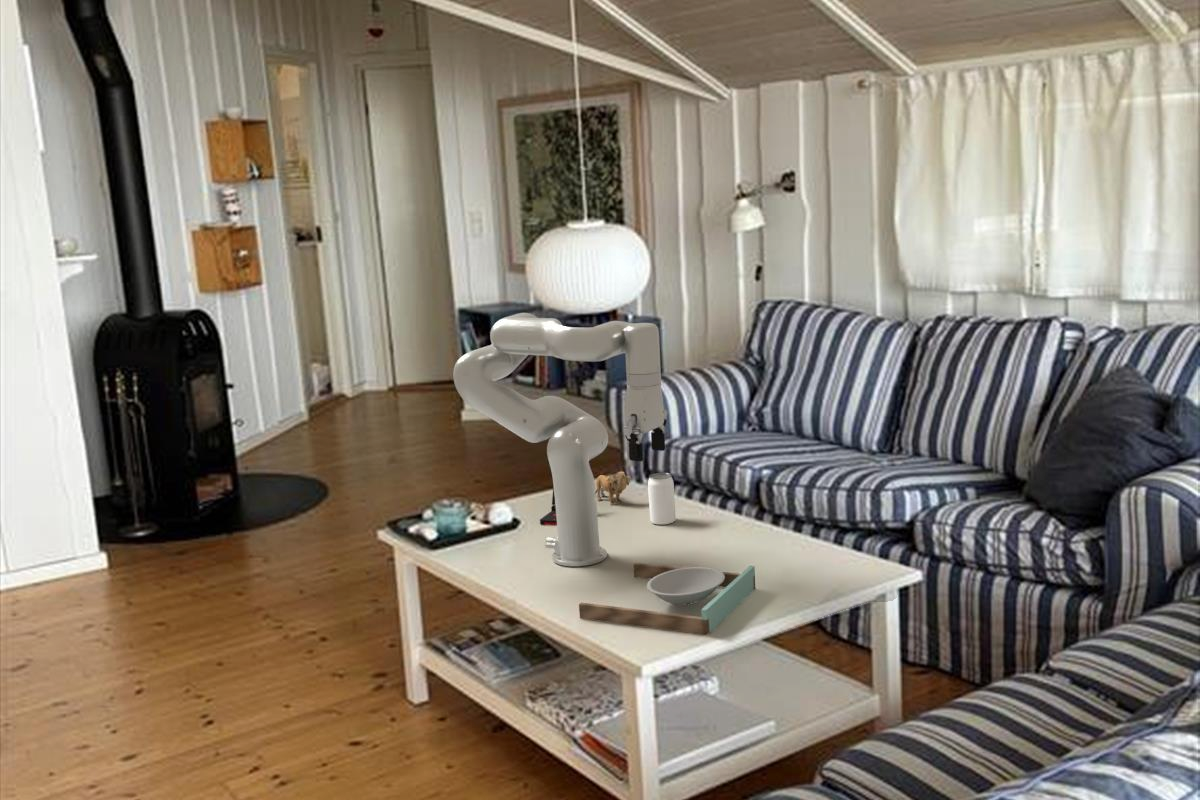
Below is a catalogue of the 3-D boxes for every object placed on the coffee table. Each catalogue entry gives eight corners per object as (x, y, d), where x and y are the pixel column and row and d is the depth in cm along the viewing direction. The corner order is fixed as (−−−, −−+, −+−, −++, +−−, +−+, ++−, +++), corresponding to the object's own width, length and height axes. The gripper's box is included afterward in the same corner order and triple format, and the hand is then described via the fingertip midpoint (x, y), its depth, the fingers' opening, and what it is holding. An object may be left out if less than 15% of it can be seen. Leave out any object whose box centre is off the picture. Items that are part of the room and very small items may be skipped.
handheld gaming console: (538, 525, 311) (535, 487, 309) (557, 511, 322) (554, 475, 320) (572, 527, 308) (569, 489, 306) (590, 513, 319) (587, 476, 317)
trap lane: (579, 618, 246) (578, 594, 245) (636, 575, 268) (634, 554, 267) (707, 634, 233) (706, 610, 232) (755, 588, 255) (754, 566, 254)
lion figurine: (635, 503, 324) (632, 470, 322) (620, 508, 321) (618, 475, 319) (598, 494, 335) (596, 463, 333) (584, 499, 332) (581, 467, 330)
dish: (691, 584, 261) (689, 561, 260) (742, 598, 250) (740, 575, 249) (632, 608, 249) (630, 585, 248) (683, 624, 239) (681, 600, 238)
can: (676, 524, 303) (673, 478, 300) (650, 526, 303) (647, 480, 301) (675, 517, 309) (672, 471, 307) (650, 518, 309) (647, 473, 307)
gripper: (648, 371, 275) (652, 444, 278) (608, 386, 260) (612, 463, 264) (677, 373, 271) (681, 447, 274) (638, 388, 256) (642, 466, 260)
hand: (647, 455), depth 269 cm, fingers open, 9 cm apart
